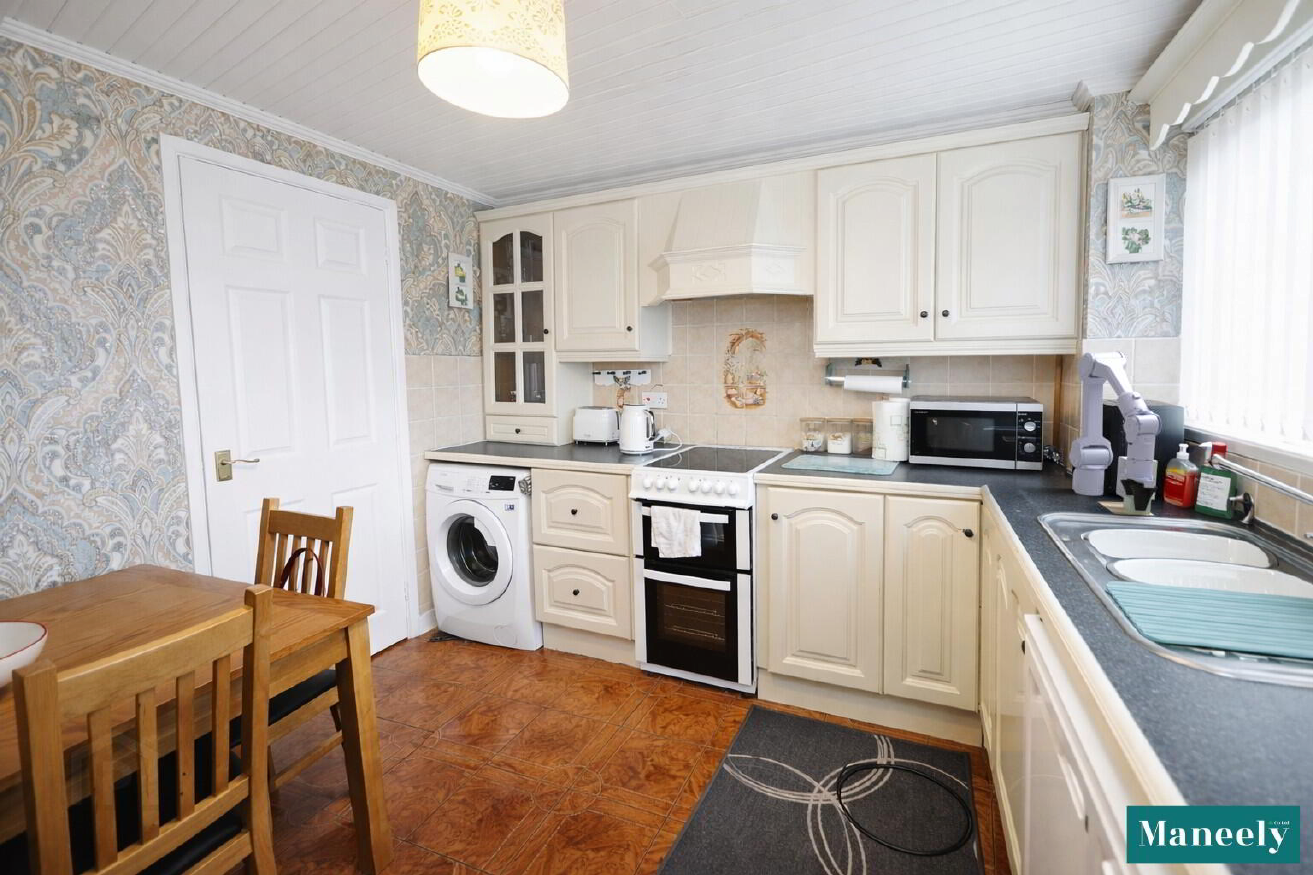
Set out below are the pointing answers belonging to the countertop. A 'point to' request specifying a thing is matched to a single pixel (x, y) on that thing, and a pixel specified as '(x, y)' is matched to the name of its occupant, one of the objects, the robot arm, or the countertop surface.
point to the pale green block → (1130, 505)
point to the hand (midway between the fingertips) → (1136, 508)
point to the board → (1118, 508)
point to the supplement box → (1121, 468)
